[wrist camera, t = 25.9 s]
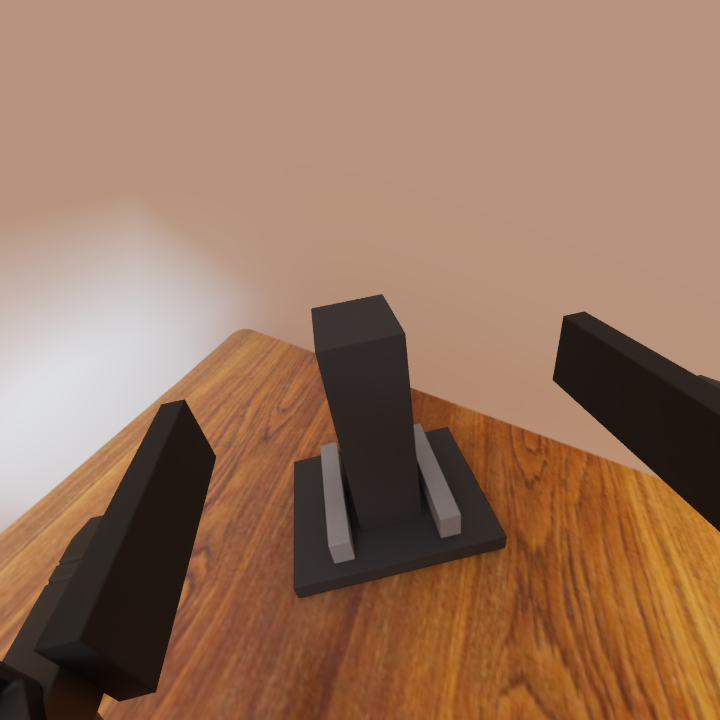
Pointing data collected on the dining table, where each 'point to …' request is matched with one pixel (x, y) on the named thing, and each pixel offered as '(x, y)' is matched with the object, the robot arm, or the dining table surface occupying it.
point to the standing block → (370, 406)
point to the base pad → (393, 542)
